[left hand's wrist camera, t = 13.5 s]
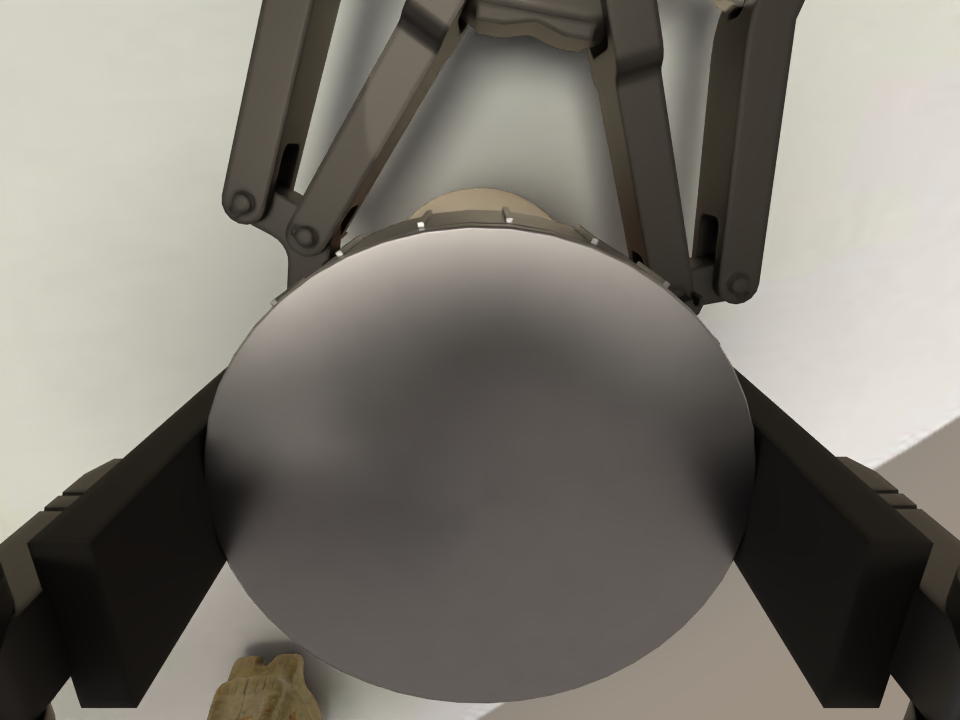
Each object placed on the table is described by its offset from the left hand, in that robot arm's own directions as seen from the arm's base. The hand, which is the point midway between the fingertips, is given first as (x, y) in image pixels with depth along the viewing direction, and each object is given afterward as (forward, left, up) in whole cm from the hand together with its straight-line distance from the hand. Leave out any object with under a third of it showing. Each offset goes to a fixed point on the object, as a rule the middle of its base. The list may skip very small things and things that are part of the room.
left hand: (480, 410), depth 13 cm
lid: (0, 0, +3) cm, 3 cm away
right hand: (-4, -3, -6) cm, 7 cm away
